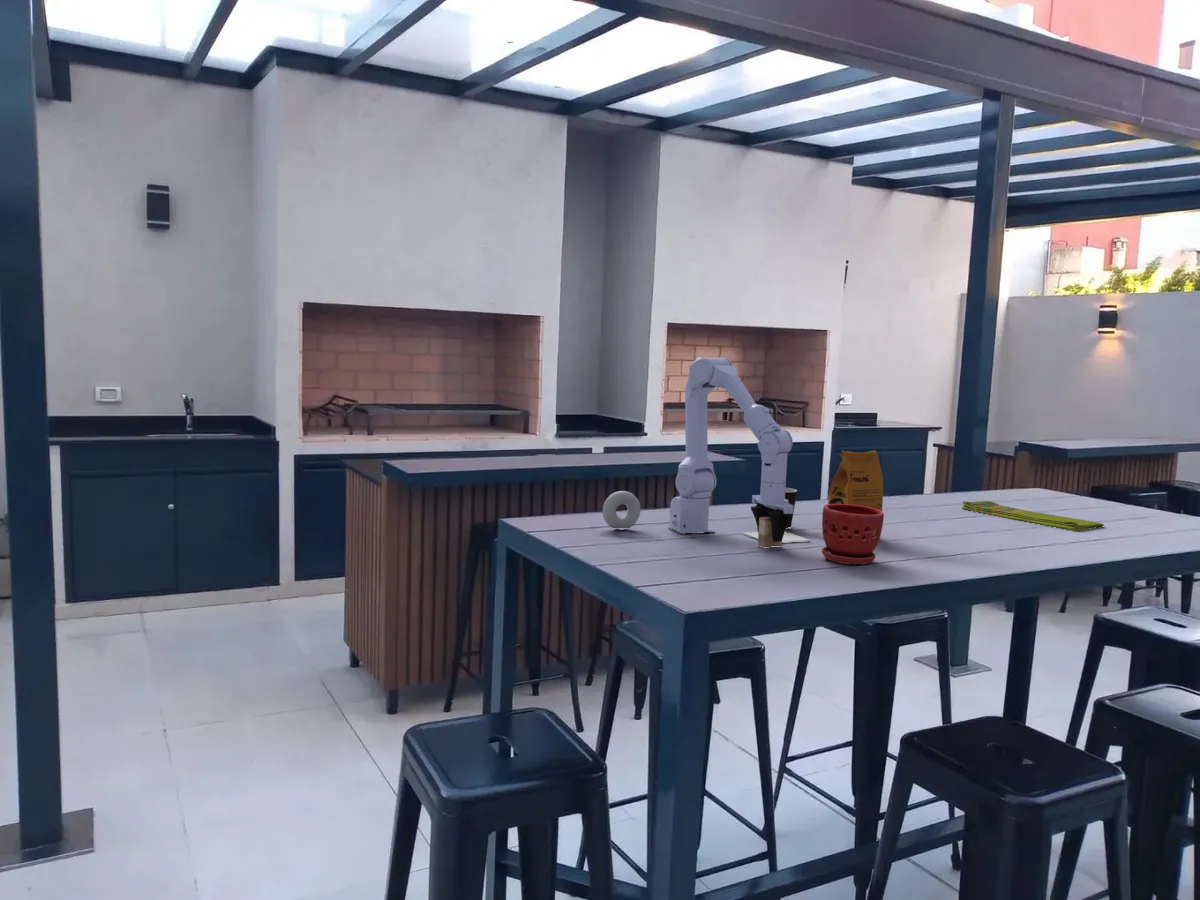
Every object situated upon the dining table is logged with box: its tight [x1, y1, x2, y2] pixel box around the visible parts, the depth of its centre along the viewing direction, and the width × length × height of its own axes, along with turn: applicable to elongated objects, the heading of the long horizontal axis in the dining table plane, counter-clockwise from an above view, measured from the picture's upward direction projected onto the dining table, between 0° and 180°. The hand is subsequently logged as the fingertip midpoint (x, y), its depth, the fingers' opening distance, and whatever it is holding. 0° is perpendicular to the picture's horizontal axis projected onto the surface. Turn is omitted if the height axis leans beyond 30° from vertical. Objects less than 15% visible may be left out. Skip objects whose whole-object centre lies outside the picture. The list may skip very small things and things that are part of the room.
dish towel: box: [961, 500, 1105, 532], centre depth 268 cm, size 15×36×3 cm, turn 33°
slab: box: [757, 517, 783, 547], centre depth 217 cm, size 5×2×7 cm, turn 113°
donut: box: [602, 490, 641, 529], centre depth 230 cm, size 10×3×10 cm, turn 110°
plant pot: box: [821, 503, 885, 566], centre depth 205 cm, size 13×13×12 cm
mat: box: [743, 531, 812, 542], centre depth 228 cm, size 12×12×1 cm
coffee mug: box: [774, 487, 798, 528], centre depth 242 cm, size 12×9×10 cm
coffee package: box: [827, 450, 884, 536], centre depth 230 cm, size 10×12×22 cm
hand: (770, 538), depth 217 cm, fingers open, 5 cm apart
